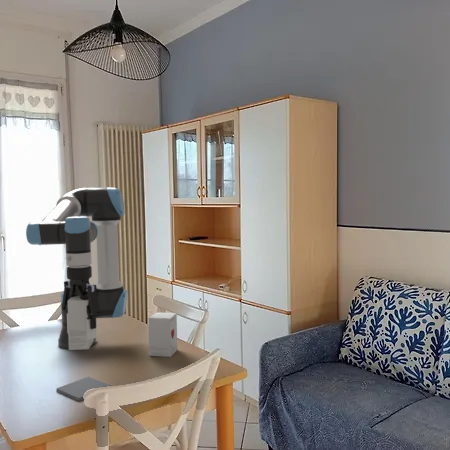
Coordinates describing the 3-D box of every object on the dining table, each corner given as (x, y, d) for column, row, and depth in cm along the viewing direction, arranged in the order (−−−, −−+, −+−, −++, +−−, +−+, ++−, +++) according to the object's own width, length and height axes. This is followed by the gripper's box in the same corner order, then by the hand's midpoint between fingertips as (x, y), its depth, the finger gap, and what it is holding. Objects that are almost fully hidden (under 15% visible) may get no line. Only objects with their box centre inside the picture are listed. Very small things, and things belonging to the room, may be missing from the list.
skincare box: (74, 342, 156) (72, 294, 155) (95, 341, 157) (93, 294, 156) (68, 350, 148) (66, 300, 147) (90, 349, 149) (88, 299, 148)
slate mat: (56, 391, 153) (56, 388, 153) (88, 379, 162) (88, 376, 162) (78, 401, 145) (78, 398, 145) (111, 388, 154) (110, 385, 154)
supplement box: (171, 357, 182) (170, 318, 181) (148, 356, 184) (147, 317, 183) (178, 349, 191) (177, 312, 190) (156, 348, 193) (155, 311, 192)
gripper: (48, 264, 155) (51, 332, 156) (90, 270, 141) (93, 345, 142) (68, 261, 161) (71, 327, 162) (111, 267, 147) (113, 339, 148)
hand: (81, 335), depth 152 cm, fingers closed on skincare box, 10 cm apart
